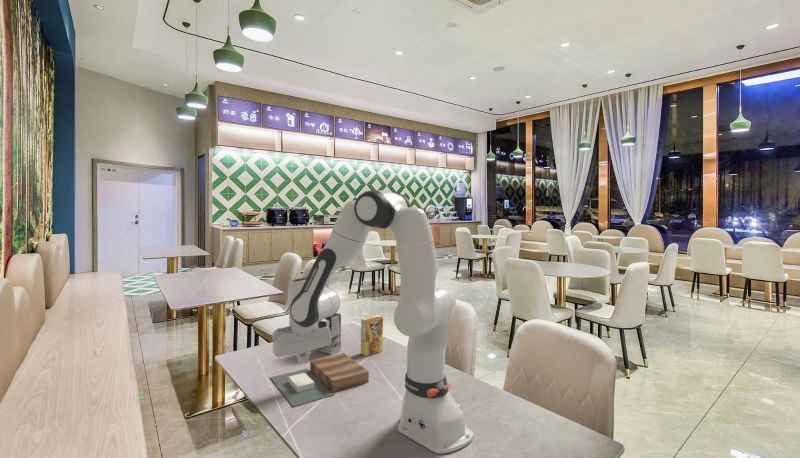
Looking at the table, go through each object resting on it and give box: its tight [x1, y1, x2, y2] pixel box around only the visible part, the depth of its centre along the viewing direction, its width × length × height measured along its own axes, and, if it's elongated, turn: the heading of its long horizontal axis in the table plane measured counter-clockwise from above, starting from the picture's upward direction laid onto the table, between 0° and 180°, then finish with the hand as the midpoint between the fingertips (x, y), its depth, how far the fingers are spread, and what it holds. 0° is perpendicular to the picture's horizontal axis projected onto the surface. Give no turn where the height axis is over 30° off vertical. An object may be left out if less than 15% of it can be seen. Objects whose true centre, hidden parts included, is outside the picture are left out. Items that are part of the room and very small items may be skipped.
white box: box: [289, 373, 314, 392], centre depth 137 cm, size 9×6×2 cm, turn 35°
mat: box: [269, 368, 335, 408], centre depth 137 cm, size 24×14×1 cm, turn 35°
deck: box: [309, 352, 370, 393], centre depth 145 cm, size 20×14×4 cm
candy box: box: [360, 314, 384, 357], centre depth 168 cm, size 9×4×15 cm, turn 129°
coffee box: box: [316, 312, 342, 356], centre depth 169 cm, size 9×6×16 cm
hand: (303, 363), depth 136 cm, fingers closed
